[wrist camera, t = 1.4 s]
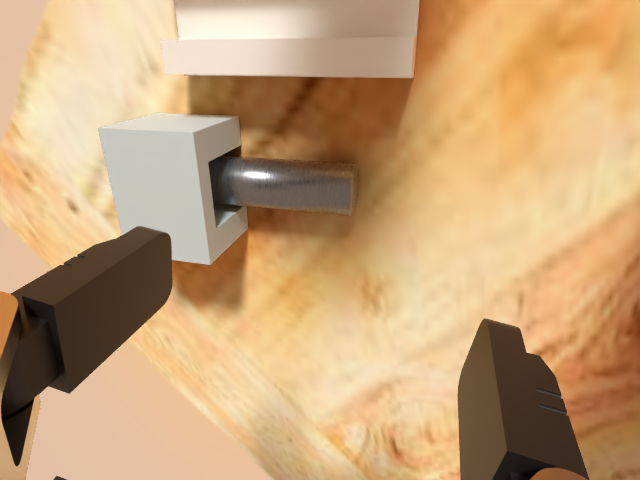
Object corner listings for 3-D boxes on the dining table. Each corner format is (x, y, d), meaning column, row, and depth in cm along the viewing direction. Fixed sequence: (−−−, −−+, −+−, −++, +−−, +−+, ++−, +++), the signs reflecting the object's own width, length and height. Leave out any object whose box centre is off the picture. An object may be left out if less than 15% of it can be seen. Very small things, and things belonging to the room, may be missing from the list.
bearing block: (238, 115, 28) (192, 132, 22) (248, 228, 31) (210, 264, 26) (158, 113, 29) (97, 128, 24) (175, 220, 32) (126, 254, 27)
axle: (359, 157, 27) (349, 172, 24) (357, 205, 28) (348, 223, 26) (141, 145, 31) (111, 157, 28) (149, 187, 32) (121, 202, 29)
